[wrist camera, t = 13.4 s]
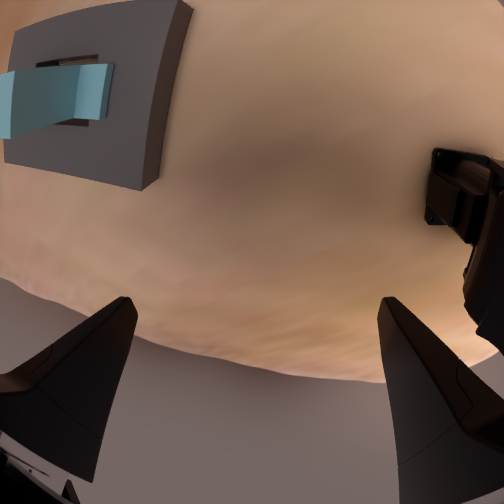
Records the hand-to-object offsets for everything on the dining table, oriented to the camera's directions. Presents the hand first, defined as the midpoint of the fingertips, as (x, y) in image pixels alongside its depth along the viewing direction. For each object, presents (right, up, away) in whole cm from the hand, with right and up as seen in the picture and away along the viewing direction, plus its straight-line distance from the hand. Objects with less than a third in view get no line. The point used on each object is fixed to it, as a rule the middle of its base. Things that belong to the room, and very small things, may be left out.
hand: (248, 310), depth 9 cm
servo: (-14, +16, +7) cm, 23 cm away
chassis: (-14, +16, +7) cm, 23 cm away
